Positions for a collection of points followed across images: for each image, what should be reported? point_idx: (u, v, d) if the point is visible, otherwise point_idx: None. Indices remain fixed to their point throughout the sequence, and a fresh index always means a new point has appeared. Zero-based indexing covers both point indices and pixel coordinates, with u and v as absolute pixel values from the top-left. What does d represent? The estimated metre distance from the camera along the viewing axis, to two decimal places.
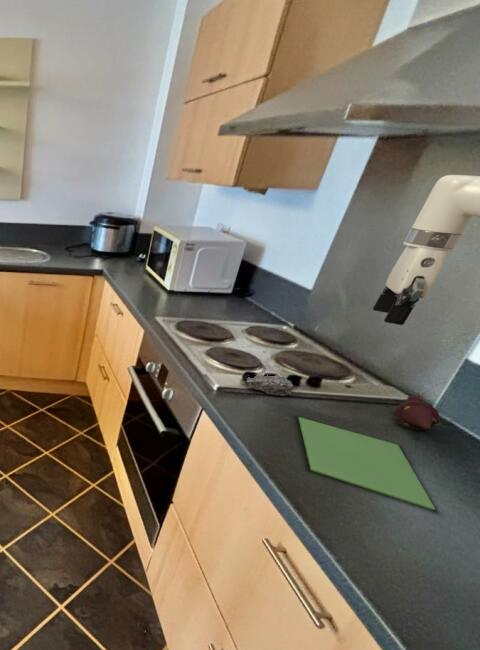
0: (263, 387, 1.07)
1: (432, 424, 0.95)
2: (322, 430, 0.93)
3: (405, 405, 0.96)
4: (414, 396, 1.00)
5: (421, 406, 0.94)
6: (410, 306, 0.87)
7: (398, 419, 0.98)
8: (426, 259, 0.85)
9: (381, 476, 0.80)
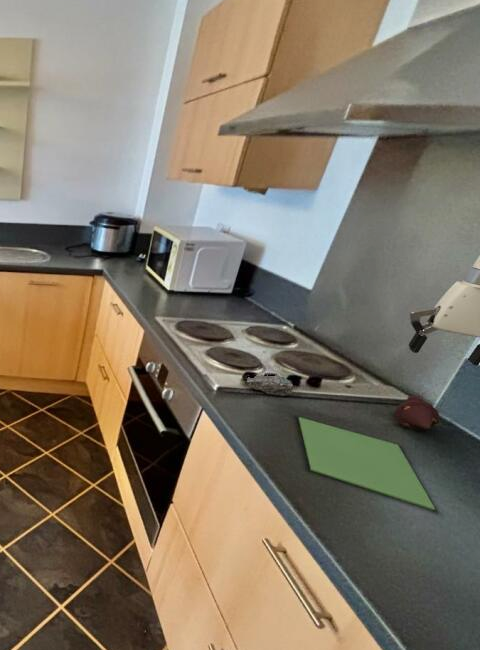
0: (263, 387, 1.07)
1: (432, 424, 0.95)
2: (322, 430, 0.93)
3: (405, 405, 0.96)
4: (414, 396, 1.00)
5: (421, 406, 0.94)
6: None
7: (398, 419, 0.98)
8: None
9: (381, 476, 0.80)
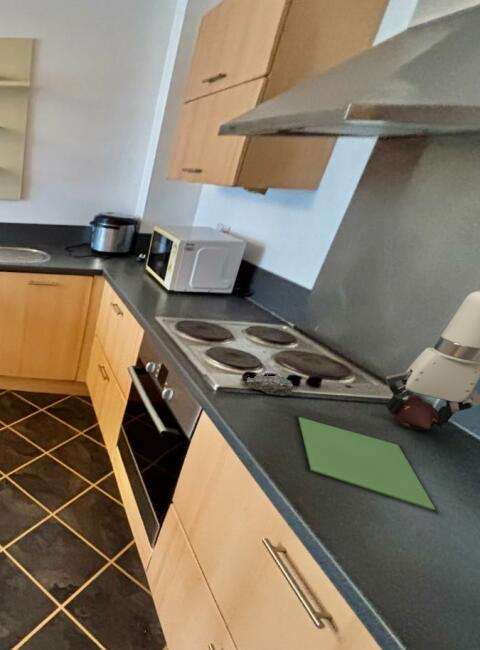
0: (263, 387, 1.07)
1: (432, 424, 0.95)
2: (322, 430, 0.93)
3: (405, 405, 0.96)
4: (414, 396, 1.00)
5: (421, 406, 0.94)
6: None
7: (398, 419, 0.98)
8: None
9: (381, 476, 0.80)
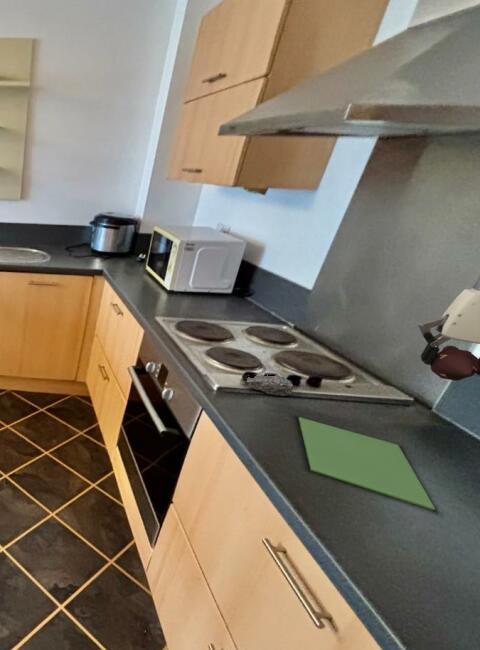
0: (263, 387, 1.07)
1: (472, 373, 0.87)
2: (322, 430, 0.93)
3: (441, 353, 0.89)
4: (450, 346, 0.92)
5: (459, 354, 0.87)
6: None
7: (434, 370, 0.90)
8: None
9: (381, 476, 0.80)
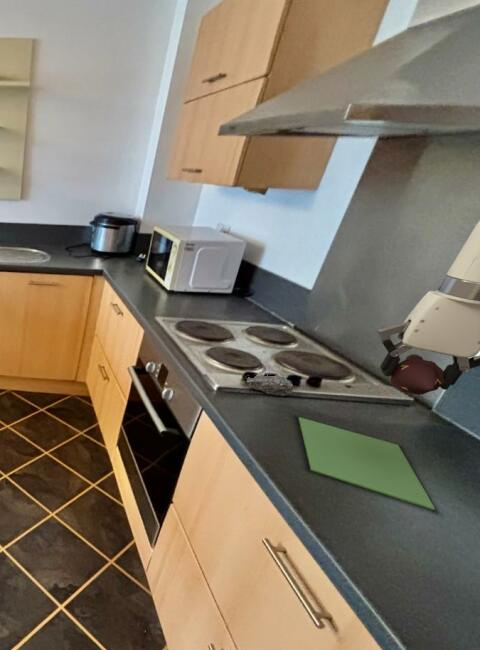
0: (263, 387, 1.07)
1: (436, 387, 0.77)
2: (322, 430, 0.93)
3: (402, 364, 0.78)
4: (414, 355, 0.82)
5: (422, 365, 0.77)
6: None
7: (394, 382, 0.80)
8: None
9: (381, 476, 0.80)
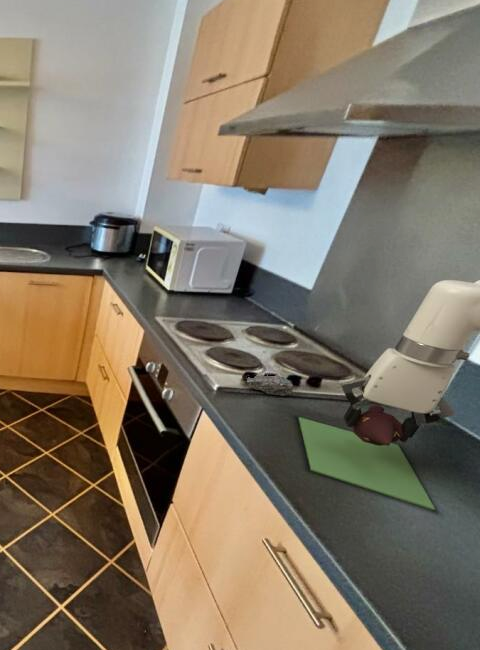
0: (263, 387, 1.07)
1: (395, 439, 0.80)
2: (322, 430, 0.93)
3: (364, 416, 0.81)
4: (376, 405, 0.85)
5: (382, 418, 0.80)
6: None
7: (356, 432, 0.83)
8: None
9: (381, 476, 0.80)
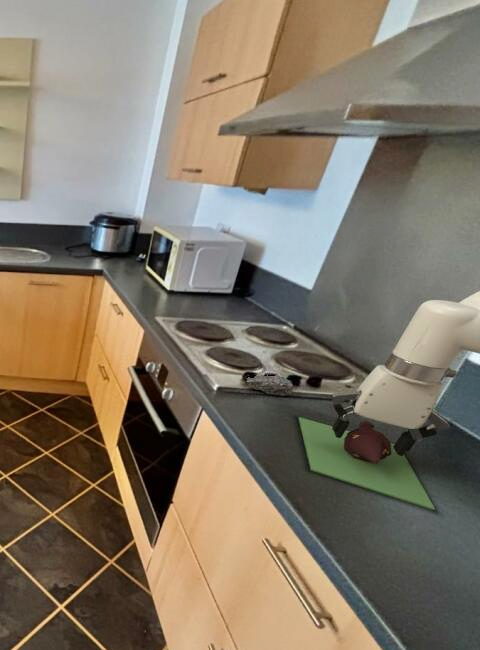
0: (263, 387, 1.07)
1: (384, 456, 0.82)
2: (322, 430, 0.93)
3: (354, 433, 0.83)
4: (366, 422, 0.87)
5: (371, 436, 0.82)
6: None
7: (346, 449, 0.85)
8: None
9: (381, 476, 0.80)
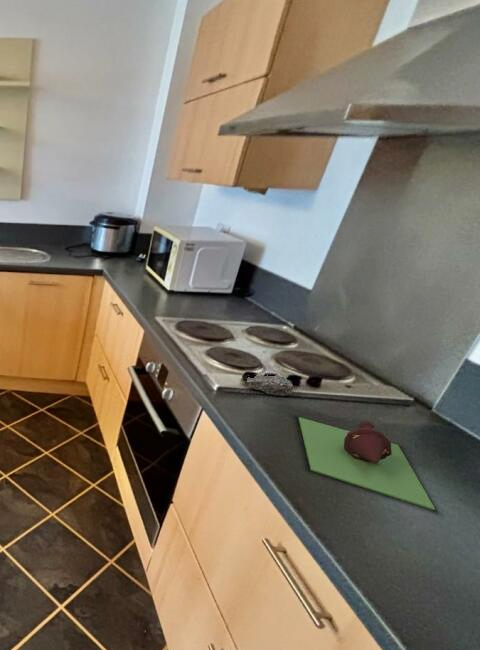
0: (263, 387, 1.07)
1: (384, 456, 0.82)
2: (322, 430, 0.93)
3: (354, 433, 0.83)
4: (366, 422, 0.87)
5: (371, 436, 0.82)
6: None
7: (346, 449, 0.85)
8: None
9: (381, 476, 0.80)
